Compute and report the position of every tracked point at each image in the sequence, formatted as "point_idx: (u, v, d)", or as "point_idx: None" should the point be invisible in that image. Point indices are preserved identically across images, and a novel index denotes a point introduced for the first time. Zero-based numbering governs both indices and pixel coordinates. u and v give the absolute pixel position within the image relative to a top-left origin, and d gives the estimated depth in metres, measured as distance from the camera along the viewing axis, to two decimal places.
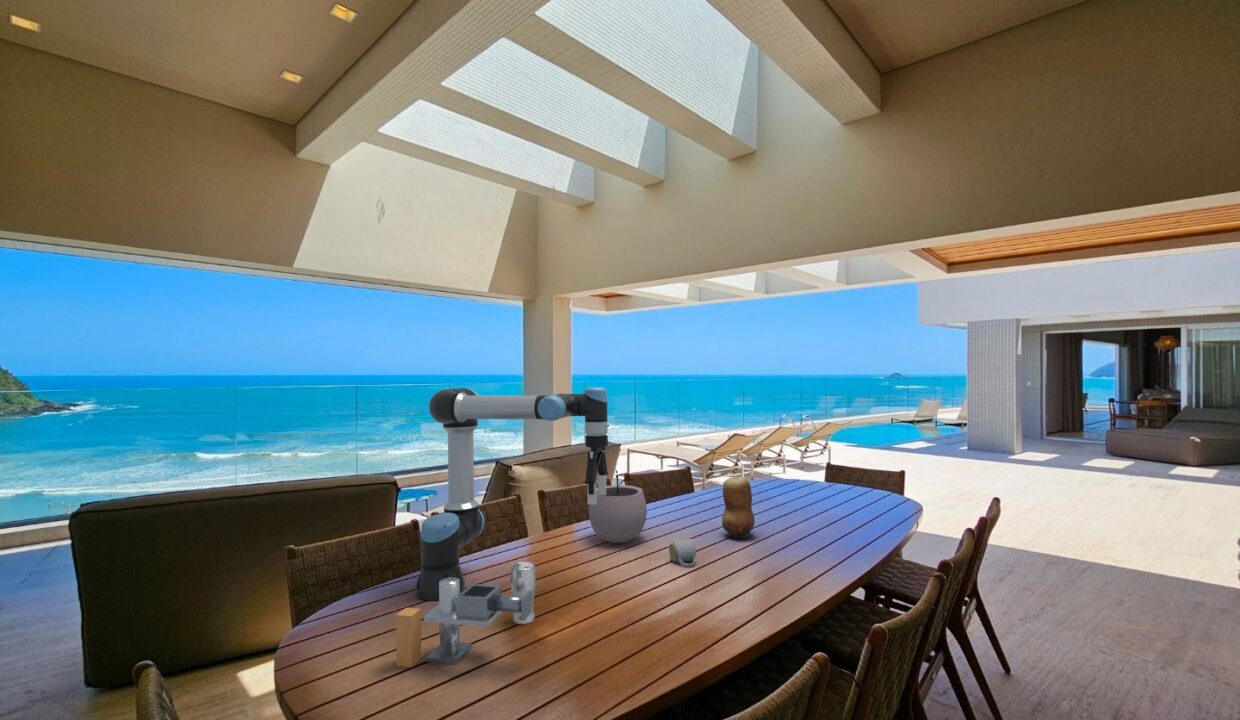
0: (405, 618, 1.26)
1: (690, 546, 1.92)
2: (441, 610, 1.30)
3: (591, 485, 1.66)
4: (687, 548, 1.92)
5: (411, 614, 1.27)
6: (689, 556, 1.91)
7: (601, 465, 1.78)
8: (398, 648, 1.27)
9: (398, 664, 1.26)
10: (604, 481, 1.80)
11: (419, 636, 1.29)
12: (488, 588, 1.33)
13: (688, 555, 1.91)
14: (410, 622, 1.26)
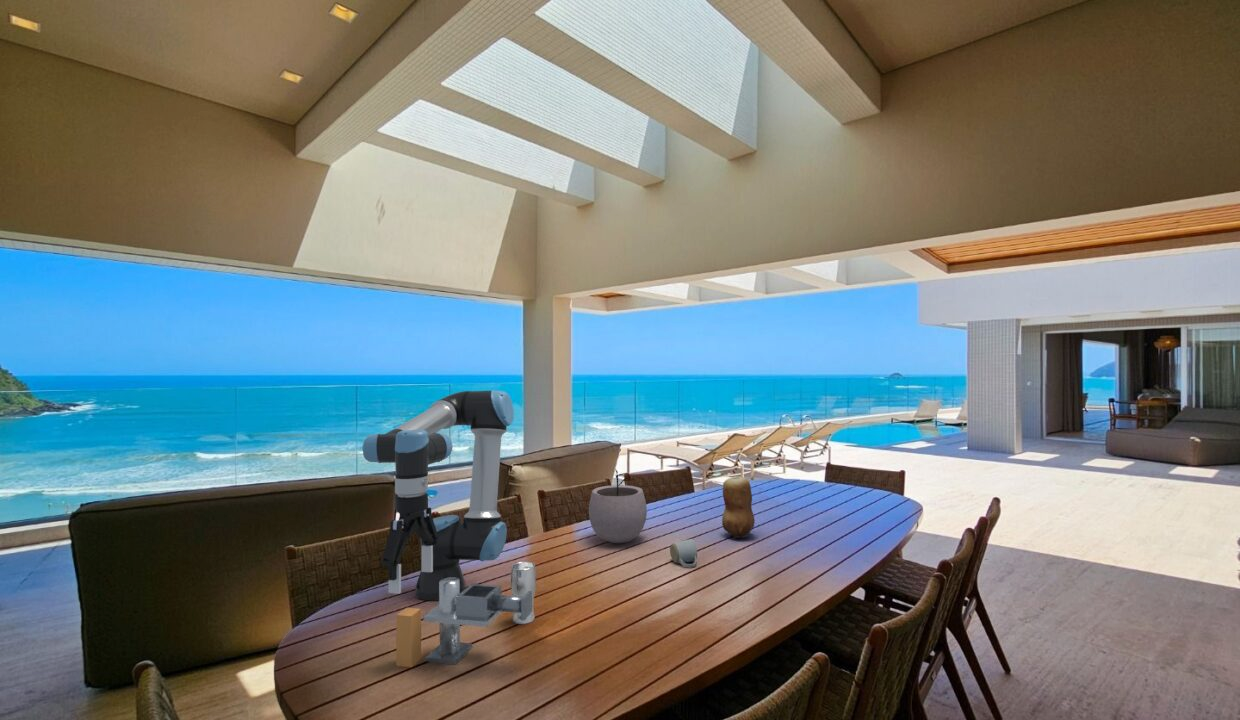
0: (405, 618, 1.26)
1: (691, 547, 1.91)
2: (441, 610, 1.30)
3: (391, 568, 1.21)
4: (688, 549, 1.91)
5: (411, 614, 1.27)
6: (690, 557, 1.91)
7: (423, 533, 1.33)
8: (398, 648, 1.27)
9: (398, 664, 1.26)
10: (430, 554, 1.35)
11: (419, 636, 1.29)
12: (488, 588, 1.33)
13: (689, 556, 1.91)
14: (410, 622, 1.26)
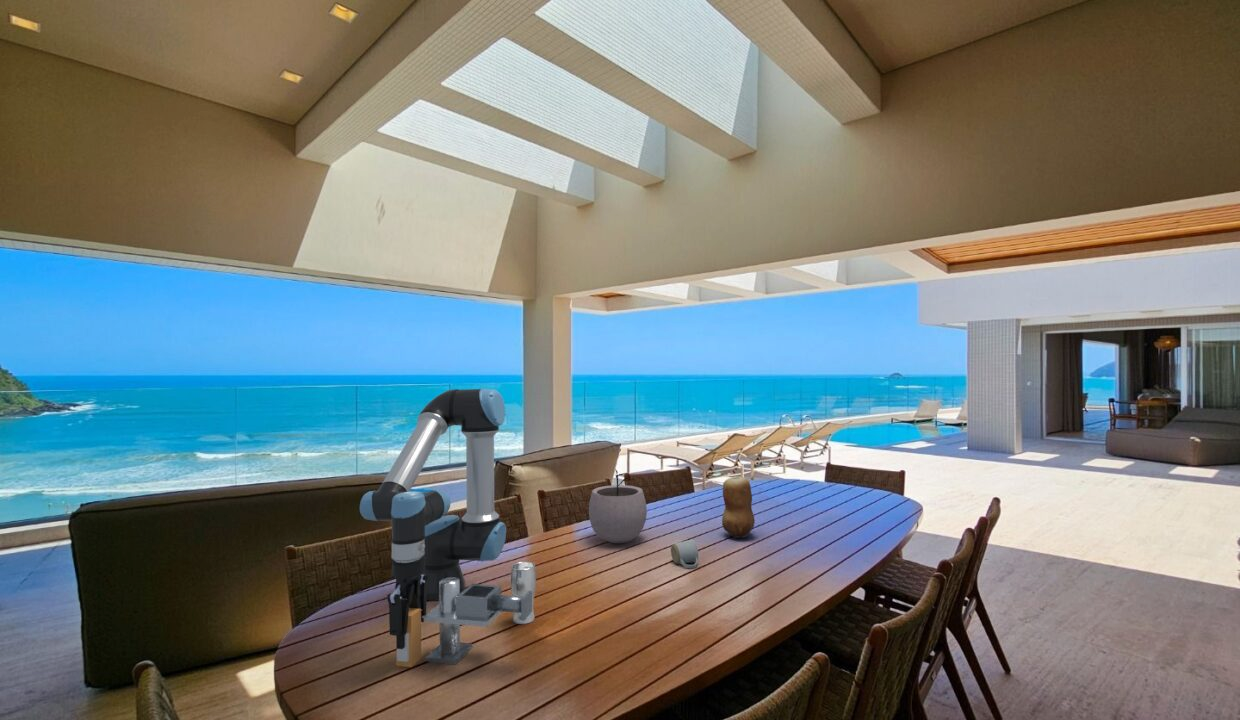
0: None
1: (692, 548, 1.91)
2: (441, 610, 1.30)
3: (400, 637, 1.24)
4: (689, 549, 1.90)
5: (411, 614, 1.27)
6: (691, 557, 1.90)
7: (414, 603, 1.30)
8: None
9: (398, 664, 1.26)
10: None
11: (419, 636, 1.29)
12: (488, 588, 1.33)
13: (690, 556, 1.90)
14: (410, 622, 1.26)
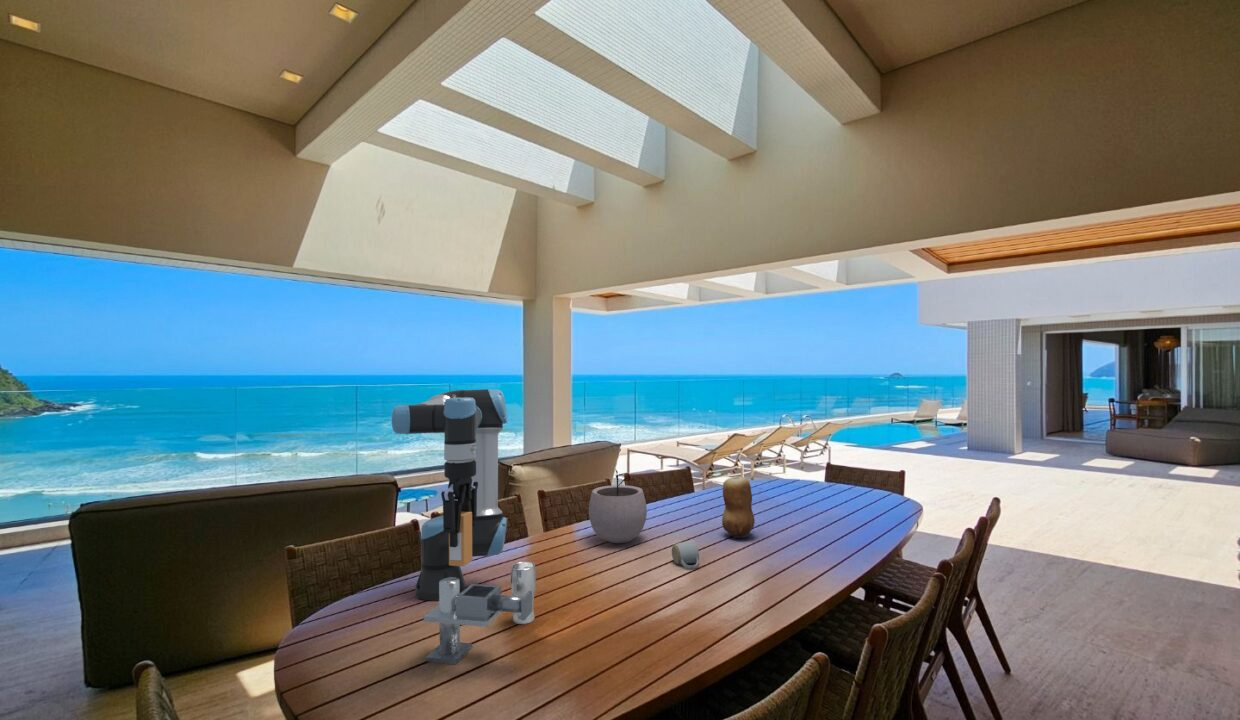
0: None
1: (692, 548, 1.90)
2: (441, 610, 1.30)
3: (453, 535, 1.26)
4: (690, 550, 1.90)
5: (463, 515, 1.29)
6: (692, 558, 1.89)
7: (466, 506, 1.32)
8: None
9: (451, 564, 1.28)
10: None
11: (470, 538, 1.31)
12: (488, 588, 1.33)
13: (691, 557, 1.89)
14: (462, 522, 1.28)
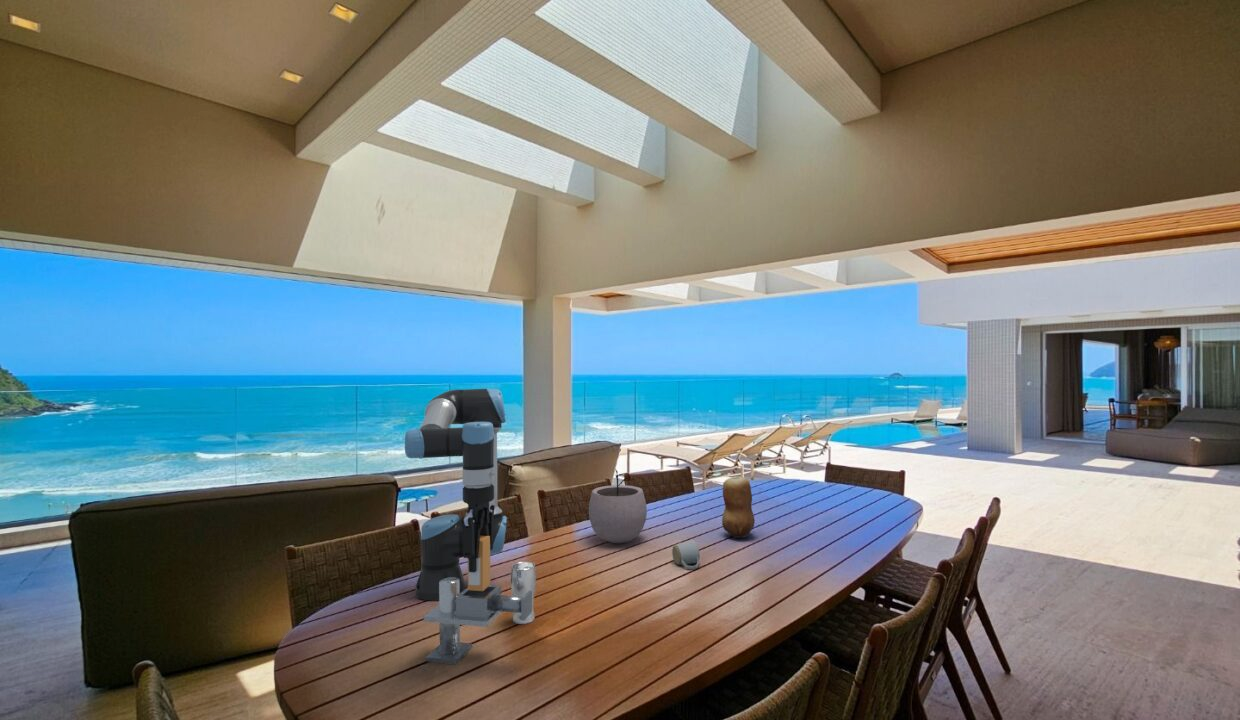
0: None
1: (693, 549, 1.90)
2: (441, 610, 1.30)
3: (472, 560, 1.26)
4: (690, 550, 1.89)
5: (482, 539, 1.29)
6: (692, 558, 1.89)
7: (484, 531, 1.32)
8: None
9: (470, 589, 1.28)
10: None
11: (489, 562, 1.31)
12: (488, 588, 1.33)
13: (691, 557, 1.89)
14: (481, 547, 1.28)
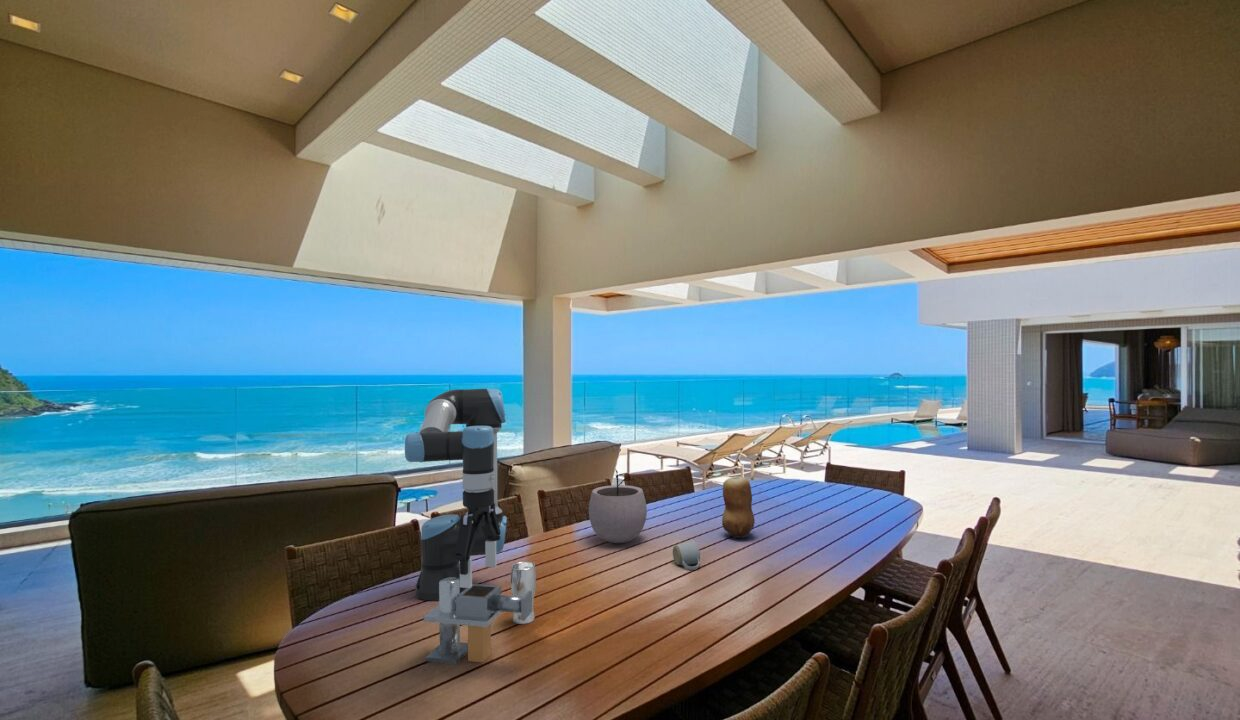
0: None
1: (693, 549, 1.89)
2: (441, 610, 1.30)
3: (463, 562, 1.22)
4: (691, 551, 1.89)
5: None
6: (693, 559, 1.88)
7: (488, 528, 1.35)
8: (470, 643, 1.28)
9: (470, 659, 1.28)
10: (493, 549, 1.36)
11: (489, 632, 1.31)
12: (488, 588, 1.33)
13: (692, 558, 1.88)
14: None
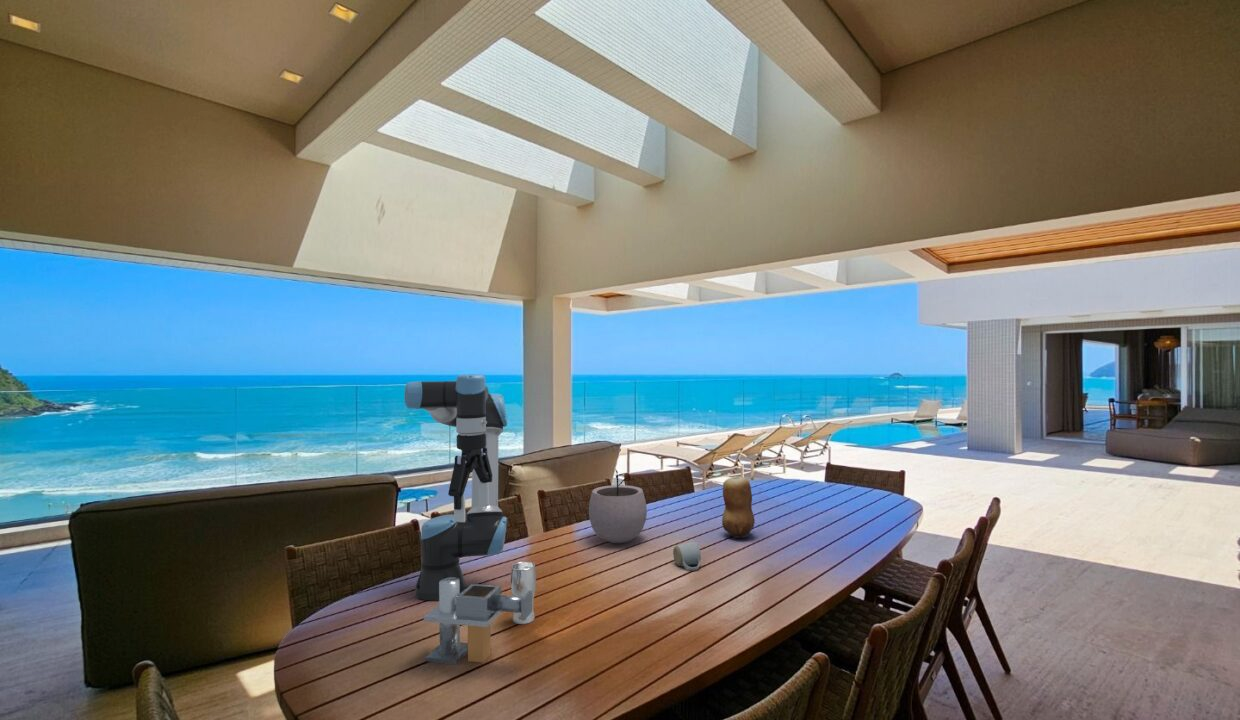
0: None
1: (694, 550, 1.88)
2: (441, 610, 1.30)
3: (457, 498, 1.31)
4: (691, 551, 1.88)
5: None
6: (693, 559, 1.88)
7: (481, 471, 1.44)
8: (470, 644, 1.28)
9: (470, 660, 1.28)
10: (486, 490, 1.46)
11: (489, 632, 1.31)
12: (488, 588, 1.33)
13: (692, 558, 1.88)
14: None
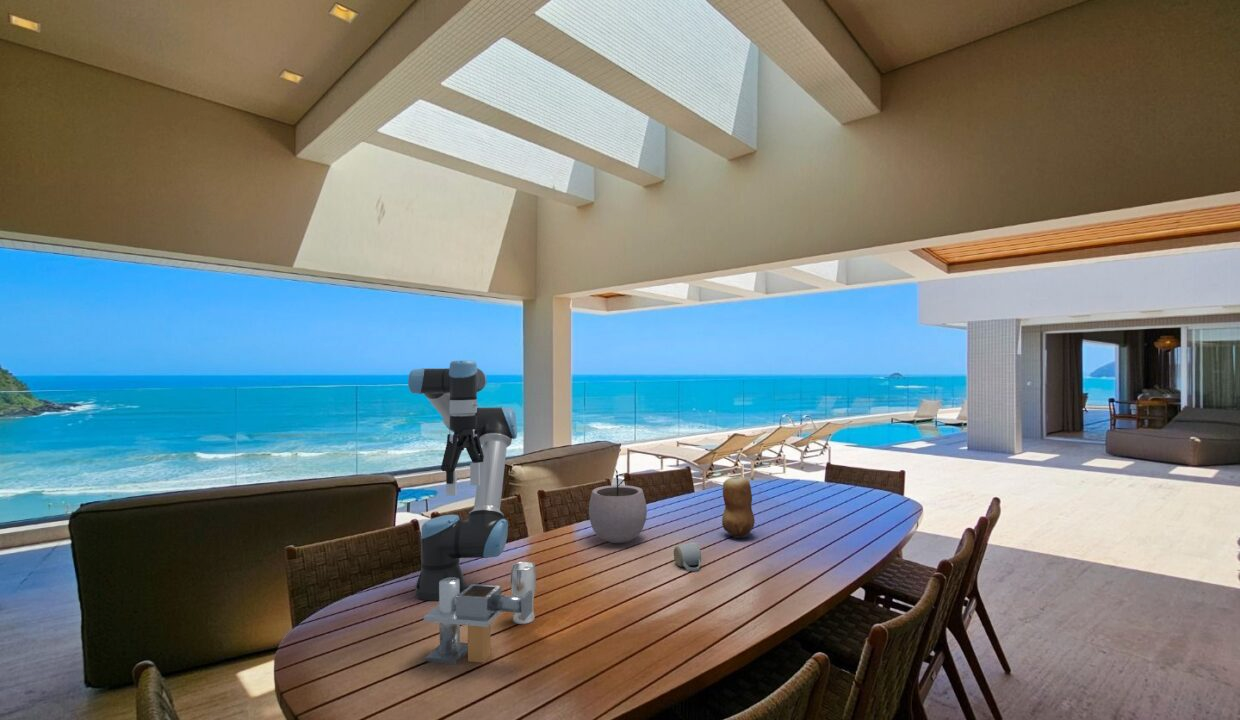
0: None
1: (695, 550, 1.88)
2: (441, 610, 1.30)
3: (449, 473, 1.42)
4: (692, 552, 1.88)
5: None
6: (694, 560, 1.87)
7: (472, 451, 1.54)
8: (470, 644, 1.28)
9: (470, 660, 1.28)
10: (477, 469, 1.56)
11: (489, 632, 1.31)
12: (488, 588, 1.33)
13: (693, 559, 1.87)
14: None
